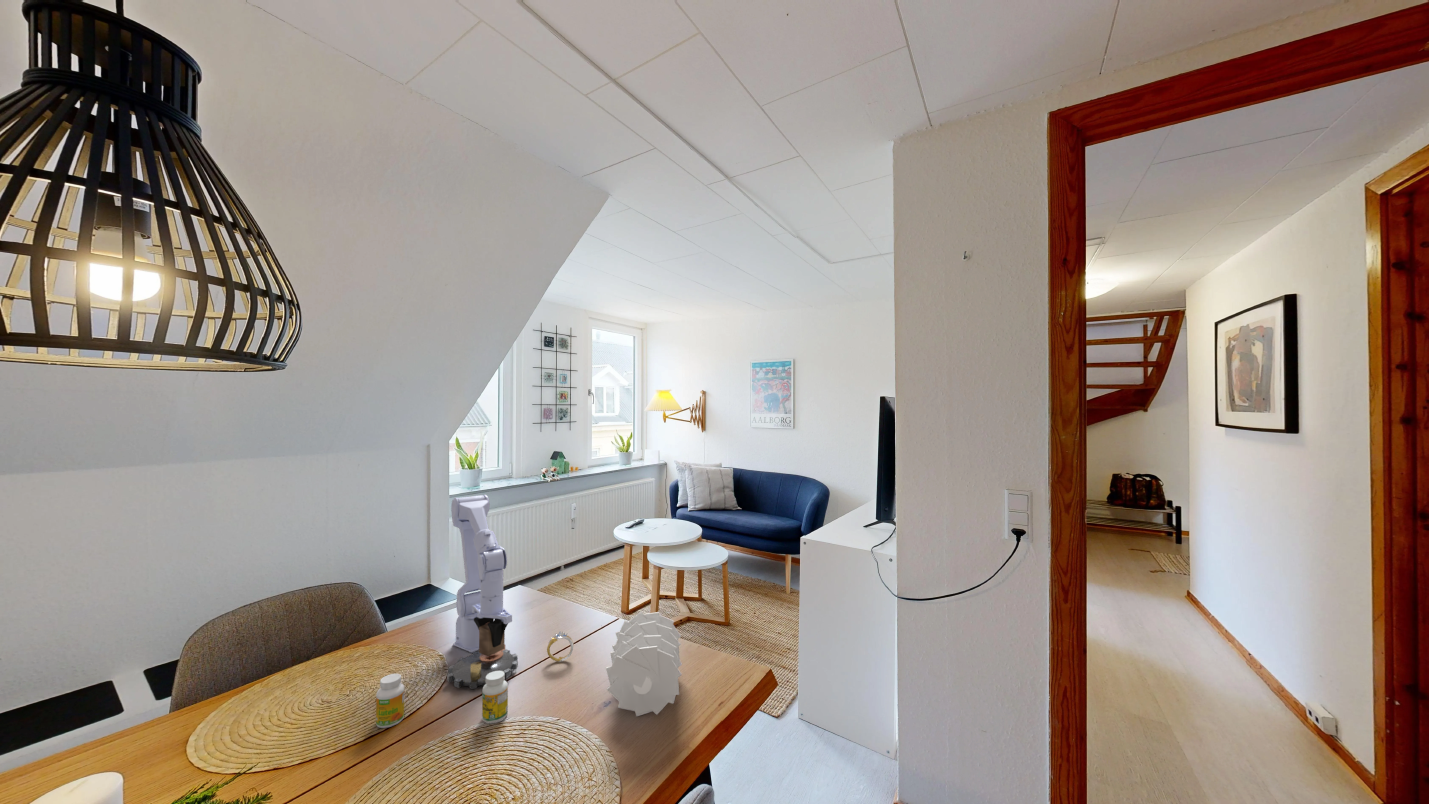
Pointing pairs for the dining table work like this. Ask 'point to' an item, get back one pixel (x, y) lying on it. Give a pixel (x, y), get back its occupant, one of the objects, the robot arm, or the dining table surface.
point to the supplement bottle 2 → (495, 697)
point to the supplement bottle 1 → (390, 701)
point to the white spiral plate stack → (645, 664)
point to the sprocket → (480, 668)
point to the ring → (557, 636)
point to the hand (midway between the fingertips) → (491, 643)
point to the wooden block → (488, 641)
